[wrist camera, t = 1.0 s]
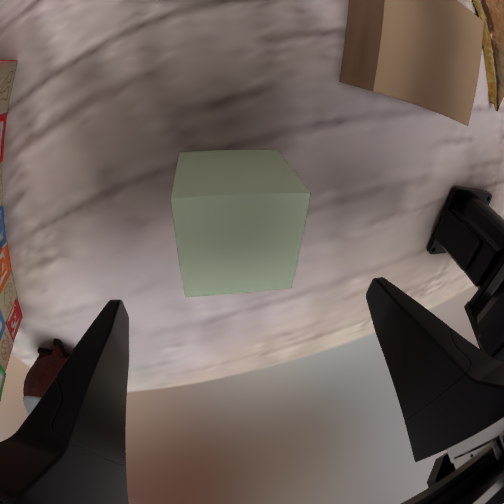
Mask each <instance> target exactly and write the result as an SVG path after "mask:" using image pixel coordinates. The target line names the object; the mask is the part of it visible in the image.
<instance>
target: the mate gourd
mask: <svg viewBox="0 0 504 504" xmlns="http://www.w3.org/2000/svg"><path fill="white" fill-rule="evenodd" d="M53 343H54V346H55V347H54V350H49V349H45V348H41V347H39V349H38V353H39V356H38V358H37V360H36V361H35V363H34V365H33V366H32V367H31V368H30V370H29V372H28V374H27V376H26V379H25V382H24V397H23V401H24V405H25V409H26V411H27V413H28V415H29V414H30V413H31V412H32V410H33V409H34V408H35V406H36V405H37V403H38V402H39V401H40V399H41V398H42V396H43V395H44V394H45V392H46V390H47V389H48V387H49V386H50V384H51V383H52V381H53V380H54V378H55V377H57V374H58V372H59V371H60V369H61V367H62V366H63V364H64V363H65V361H66V360H67V358H68V357H69V356H70V354H67V353H66V352H65V349H64V347H63V344H62V342H61V340H59V339H54V341H53Z"/></svg>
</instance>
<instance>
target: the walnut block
mask: <svg viewBox="0 0 504 504" xmlns="http://www.w3.org/2000/svg"><path fill="white" fill-rule="evenodd" d="M482 39H483V21H482V20H481V19H480V18H479V17H478V16H476V15H475V14H474V13H473V12H471V11H470V10H469V9H468V8H466V7H465V6H464V5H463V4H461V3H460V2H459V1H457V0H349V8H348V18H347V28H346V36H345V45H344V53H343V60H342V67H341V74H340V81H339V82H343V83H346V84H350V85H354V86H357V87H361V88H364V89H367V90H370V91H374V92H377V93H381V94H384V95H388V96H391V97H394V98H398V99H401V100H404V101H407V102H410V103H413V104H416V105H418V106H421V107H424V108H426V109H429V110H432V111H434V112H437V113H439V114H442V115H444V116H446V117H449V118H451V119H453V120H456V121H458V122H460V123H462V124H465V125H467V126H468V124H469V120H470V115H471V111H472V107H473V102H474V97H475V92H476V86H477V81H478V74H479V67H480V59H481V50H482Z"/></svg>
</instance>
